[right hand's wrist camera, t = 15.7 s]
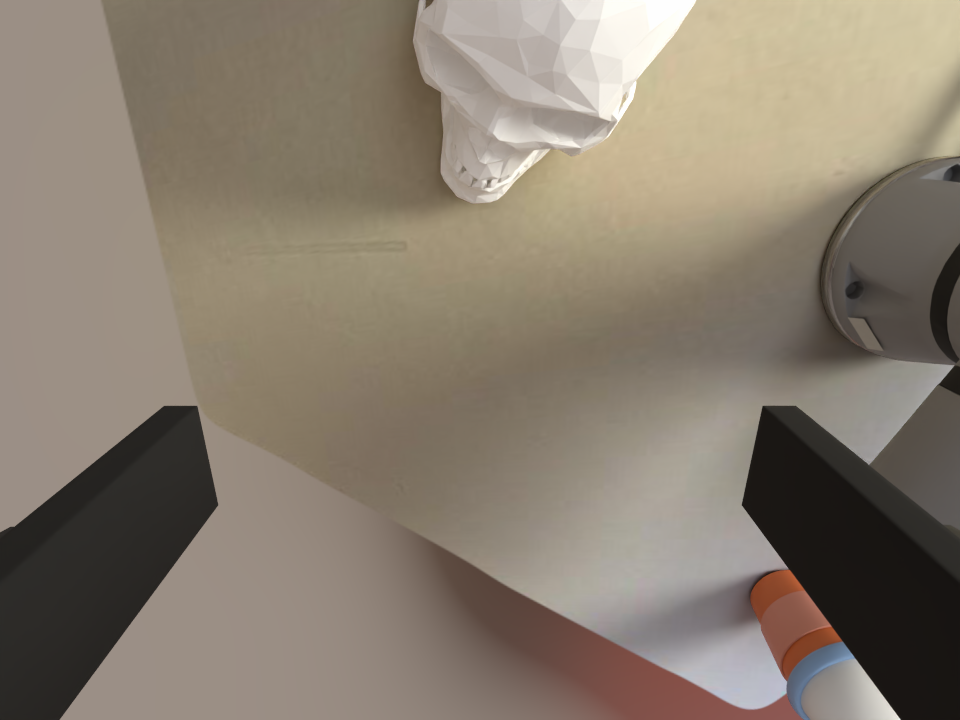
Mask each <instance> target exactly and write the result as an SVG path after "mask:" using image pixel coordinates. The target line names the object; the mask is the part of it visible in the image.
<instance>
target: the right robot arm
mask: <svg viewBox="0 0 960 720" xmlns="http://www.w3.org/2000/svg"><path fill="white" fill-rule="evenodd" d="M821 293H822V299H823V304H824V307H825V310H826V313H827V315H828V317H829V319H830V321H831V322H832V324H833V325H834V327H835V328H836V329H837V330H838V331H839V332H840V333H841V334H842V335H843V336H844V337H845V338H846V339H848V340H849V341H850V342H852V343H854V344H856V345H857V346H859V347H861V348H863V349H865V350H867V351H869V352H872V353H874V354H877V355H880V356H884V357H887V358H891V359H895V360H901V361H911V362H923V363H934V364H946V365H955V366H954V367H953V368H952V369H951V371H950V372H949V373H948V374H947V375H946V377H945V378H944V379H943V380H942V381H941V383H939V384H938V385H937V386H936V388H935V389H934V390H933V391H932V392H931V394H930V395H929V396H928V397H927V398H926V399H925V401H924V402H923V403H922V404H921V405H920V407H919V408H918V409H917V410H916V411H915V413H914V414H913V415H912V416H911V417H910V418H909V420H908V421H907V422H906V423H905V424H904V426H903V427H902V428H901V429H900V430H899V432H898V433H897V434H896V435H895V436H894V438H893V439H892V440H891V441H890V442H889V443H888V444H887V446H886V447H885V448H884V449H883V450H882V451H881V452H880V454H879V455H878V456H877V457H876V458H875V459H874V460H873V461H872V463H871V464H870V465H868V464H867V463H866V462H865V461H863V460H862V459H861V458H860V457H858V456H857V455H856V454H855V453H853V452H852V451H851V450H850V449H848V448H847V447H846V446H845V445H844V444H842V443H841V442H840V441H839V440H837V439H836V438H835V437H834V436H832V435H831V434H830V433H829V432H827V431H826V430H825V429H824V428H822V427H821V426H820V425H819V424H817V423H816V422H815V421H814V420H813V419H811V418H810V417H809V416H808V415H806V414H805V413H804V412H803V411H801V410H800V409H799V408H798V407H796V406H763V407H762V412H761V417H760V421H759V426H758V431H757V435H756V440H755V445H754V450H753V454H752V459H751V464H750V469H749V473H748V478H747V483H746V487H745V492H744V497H743V502H742V506H743V507H744V509H745V510H746V511H747V513H748V514H749V515H750V517H751V518H752V520H753V521H754V522H755V524H756V525H757V526H758V528H759V529H760V530H761V532H762V533H763V534H764V536H765V537H766V538H767V540H768V541H769V543H770V544H771V545H772V547H773V548H774V549H775V551H776V552H777V553H778V555H779V556H780V557H781V559H782V560H783V561H784V563H785V564H786V566H787V567H788V568H789V570H790V571H791V572H792V574H793V575H794V576H795V578H796V579H797V580H798V582H799V583H800V584H801V586H802V587H803V589H804V590H805V591H806V593H807V594H808V595H809V597H810V598H811V599H812V601H813V602H814V603H815V605H816V606H817V607H818V609H819V610H820V611H821V613H822V614H823V616H824V617H825V618H826V620H827V621H828V622H829V624H830V625H831V626H832V628H833V629H834V630H835V632H836V633H837V634H838V636H839V637H840V639H841V640H842V641H843V643H844V644H845V645H846V647H847V648H848V649H849V651H850V652H851V653H852V655H853V656H854V657H855V659H856V660H857V662H858V663H859V664H860V666H861V667H862V668H863V670H864V671H865V672H866V674H867V675H868V676H869V678H870V679H871V680H872V682H873V683H874V685H875V686H876V687H877V689H878V690H879V691H880V693H881V694H882V695H883V697H884V698H885V699H886V701H887V702H888V703H889V705H890V706H891V708H892V709H893V710H894V712H895V713H896V714H897V716H898V717H899V718H900V720H960V156H945V157H936V158H932V159H927V160H923V161H920V162H917V163H914V164H911V165H909V166H906V167H904V168H902V169H900V170H898V171H896V172H894V173H893V174H891V175H889V176H888V177H886V178H884V179H883V180H882V181H880V182H879V183H877V184H876V185H875V186H873V187H872V188H871V189H870V190H869V191H867V192H866V193H865V194H864V195H863V196H862V197H861V198H860V199H859V200H858V201H857V202H856V203H855V204H854V206H853V207H852V208H851V209H850V210H849V212H848V213H847V214H846V216H845V217H844V218H843V220H842V221H841V223H840V224H839V226H838V228H837V229H836V231H835V233H834V235H833V237H832V239H831V241H830V244H829V246H828V249H827V252H826V255H825V258H824V262H823V267H822V274H821ZM217 506H218V502H217V497H216V492H215V487H214V483H213V478H212V474H211V469H210V464H209V459H208V454H207V450H206V445H205V440H204V435H203V431H202V426H201V421H200V417H199V412H198V407H197V406H164V407H162V408H161V409H160V410H159V411H157V412H156V413H155V414H154V415H152V416H151V417H150V418H149V419H147V420H146V421H145V422H144V423H143V424H141V425H140V426H139V427H138V428H136V429H135V430H134V431H133V432H131V433H130V434H129V435H128V436H126V437H125V438H124V439H123V440H121V441H120V442H119V443H118V444H117V445H115V446H114V447H113V448H112V449H110V450H109V451H108V452H107V453H105V454H104V455H103V456H102V457H100V458H99V459H98V460H97V461H95V462H94V463H93V464H92V465H91V466H89V467H88V468H87V469H86V470H84V471H83V472H82V473H81V474H79V475H78V476H77V477H76V478H74V479H73V480H72V481H71V482H69V483H68V484H67V485H66V486H64V487H63V488H62V489H61V490H60V491H58V492H57V493H56V494H55V495H53V496H52V497H51V498H50V499H48V500H47V501H46V502H45V503H43V504H42V505H41V506H40V507H38V508H37V509H36V510H35V511H34V512H32V513H31V514H30V515H29V516H27V517H26V518H25V519H24V520H22V521H21V522H20V523H19V524H17V525H16V526H15V527H9V528H8V529H6V530H4V531H2V532H0V720H60V718H61V717H62V716H63V714H64V713H65V712H66V710H67V709H68V708H69V706H70V705H71V703H72V702H73V701H74V699H75V698H76V697H77V695H78V694H79V693H80V691H81V690H82V689H83V687H84V686H85V685H86V683H87V682H88V680H89V679H90V678H91V676H92V675H93V674H94V672H95V671H96V670H97V668H98V667H99V666H100V664H101V663H102V662H103V660H104V659H105V657H106V656H107V655H108V653H109V652H110V651H111V649H112V648H113V647H114V645H115V644H116V643H117V641H118V640H119V639H120V637H121V636H122V634H123V633H124V632H125V630H126V629H127V628H128V626H129V625H130V624H131V622H132V621H133V620H134V618H135V617H136V616H137V614H138V613H139V611H140V610H141V609H142V607H143V606H144V605H145V603H146V602H147V601H148V599H149V598H150V597H151V595H152V594H153V593H154V591H155V590H156V589H157V587H158V586H159V584H160V583H161V582H162V580H163V579H164V578H165V576H166V575H167V574H168V572H169V571H170V569H171V568H172V567H173V566H174V564H175V563H176V561H177V560H178V559H179V557H180V556H181V555H182V553H183V552H184V551H185V549H186V548H187V547H188V545H189V544H190V543H191V541H192V540H193V538H194V537H195V536H196V534H197V533H198V532H199V530H200V529H201V528H202V526H203V525H204V524H205V522H206V521H207V519H208V518H209V517H210V515H211V514H212V513H213V511H214V510H215V509H216V507H217Z"/></svg>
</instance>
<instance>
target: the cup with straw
mask: <svg viewBox="0 0 960 720" xmlns="http://www.w3.org/2000/svg"><path fill="white" fill-rule="evenodd" d="M750 601H751V605H752V607H753V610H754V612H755V614H756V616H757V618H758V620H759V622H760V624H761V631H762V633H763V635H764V637H765V640H766V642H767V644H768V646H769V648H770V650H771V652H772V654H773V657H774V659H775V661H776V663H777V665H778V667H779V669H780V671H781V674H782V675H783V677H784V678H785V680H786V681H787V695H788V699H789V702H790V704H791V706H792V707H793V709H794V710H795V711H796V713H797V714H798V715H799V716H800V717H801V718H802V719H804V720H900V718H899V717H898V716H897V714H896V713H895V712H894V710H893V709H892V708H891V706H890V705H889V703H888V702H887V701H886V699H885V698H884V697H883V695H882V694H881V693H880V691H879V690H878V689H877V687H876V686H875V685H874V683H873V682H872V680H871V679H870V678H869V676H868V675H867V674H866V672H865V671H864V670H863V668H862V667H861V666H860V664H859V663H858V662H857V660H856V659H855V657H854V656H853V655H852V653H851V652H850V651H849V649H848V648H847V647H846V645H845V644H844V643H843V641H842V640H841V639H840V637H839V636H838V634H837V633H836V632H835V630H834V629H833V628H832V626H831V625H830V624H829V622H828V621H827V620H826V618H825V617H824V616H823V614H822V613H821V611H820V610H819V609H818V607H817V606H816V605H815V603H814V602H813V601H812V599H811V598H810V597H809V595H808V594H807V593H806V591H805V590H804V589H803V587H802V586H801V584H800V583H799V582H798V580H797V579H796V578H795V576H794V575H793V574H792V572H791V571H790V570H781V571H776V572H773V573H771V574H768V575H766V576H765V577H763V578H762V579H761V580H759V581H758V582H757V584H756V585H755V586H754V588H753V590H752V592H751V596H750Z"/></svg>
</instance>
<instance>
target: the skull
mask: <svg viewBox="0 0 960 720" xmlns="http://www.w3.org/2000/svg"><path fill="white" fill-rule="evenodd" d="M695 1H696V0H433V2H432V4H431V5H429V6H428V7H427V8H426V9H425V6H426V0H419V4H418V10H417V17H416V24H415V30H414V37H413V44H414V48H415V52H416V56H417V60H418V64H419V68H420V72H421V75H422V77H423V79H424V81H425V83H426V84H428V85H430V86H431V87H433V88H435V89H436V90H438V91H440V92H441V112H442V122H443V143H442V153H441V175H442V177H443V179H444V181H445V182H446V183H447V185H448V186H449V187H450V188H451V190H452V191H453V192H454V194H455V195H456V196H457V197H459V198H461V199H463V200H465V201H468V202H470V203H489V202H492V201H496V200H498V199H499V198H500V197H501V196H503V195H504V194H505V193H506V191H507V190H508V189H509V188H510V187H511V186H512V184H513V183H514V182H515V181H516V180H517V179H518V178H519V177H520V176H521V175H522V174H523V173H524V172H525V171H526V170H527V169H529V168H530V167H531V166H532V165H533V164H535V163H536V162H538V161H539V160H540V159H541V158H542V157H543V156H544V155H545V154H546V153H547V152H548V151H549V150H550V149H558V150H561V151H563V152H565V153H566V154H568V155H570V156H574V155H578V154H581V153H583V152H584V151H586V150H588V149H590V148H592V147H594V146H596V145H598V144H600V143H601V142H602V141H604V140H605V139H606V138H608V137H609V135H610V134H611V132H612V131H613V129H614V128H615V126H616V125H617V123H618V122H619V121H620V119H621V117H622V116H623V114H624V112H625V111H626V109H627V108H628V106H629V104H630V103H631V101H632V99H633V96H634V92H635V87H636V80H637V78H638V77H639V76H640V75H641V74H642V72H643V71H644V70H645V69H646V68H647V66H648V65H649V64H650V63H651V62H652V61H653V59H654V58H655V57H656V56H657V55H658V53H659V52H660V51H661V50H662V49H663V47H664V46H665V45H666V44H667V43H668V41H669V40H670V39H671V38H672V37H673V35H674V34H675V33H676V31H677V30H678V28H679V27H680V25H681V23H682V22H683V20H684V19H685V17H686V16H687V14H688V13H689V11H690V10H691V8H692V7H693V5H694V4H695ZM625 93H626V99H625V102H624V103H623V105H622V106H621V108H620V109H619V107H620V104H621V101H622V98H623V96H624V94H625Z"/></svg>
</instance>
